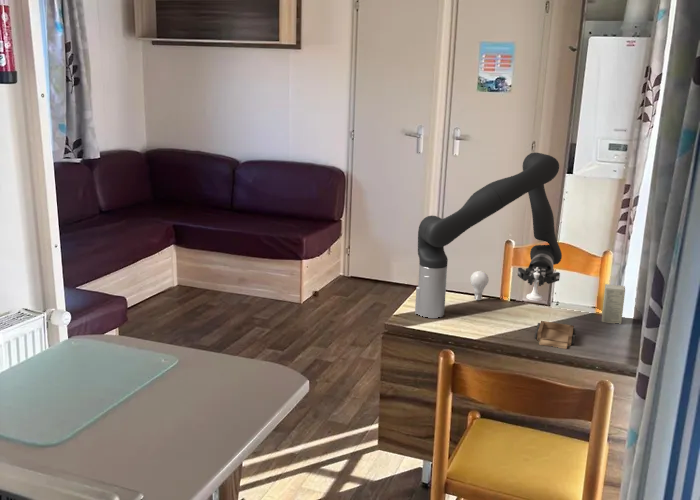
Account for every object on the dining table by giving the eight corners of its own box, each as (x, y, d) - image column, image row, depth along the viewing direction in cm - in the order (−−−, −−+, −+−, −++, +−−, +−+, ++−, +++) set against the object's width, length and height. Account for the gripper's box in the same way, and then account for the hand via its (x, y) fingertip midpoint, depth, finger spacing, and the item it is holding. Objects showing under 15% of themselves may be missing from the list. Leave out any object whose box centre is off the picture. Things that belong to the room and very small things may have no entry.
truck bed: (533, 343, 207) (533, 334, 206) (537, 329, 219) (538, 320, 218) (572, 349, 203) (573, 340, 202) (575, 334, 215) (576, 325, 214)
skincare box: (620, 320, 229) (625, 285, 225) (621, 324, 225) (626, 289, 221) (600, 317, 231) (605, 283, 227) (601, 322, 226) (605, 287, 223)
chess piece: (544, 301, 210) (547, 270, 207) (528, 300, 210) (531, 269, 207) (540, 295, 215) (543, 265, 212) (524, 295, 215) (527, 264, 212)
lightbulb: (488, 303, 242) (490, 273, 239) (470, 303, 242) (472, 273, 239) (485, 297, 248) (487, 268, 245) (467, 297, 248) (469, 268, 245)
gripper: (520, 253, 225) (513, 268, 209) (564, 258, 220) (560, 273, 205) (518, 275, 227) (511, 291, 211) (561, 280, 222) (557, 297, 207)
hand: (535, 282), depth 208 cm, fingers closed on chess piece
